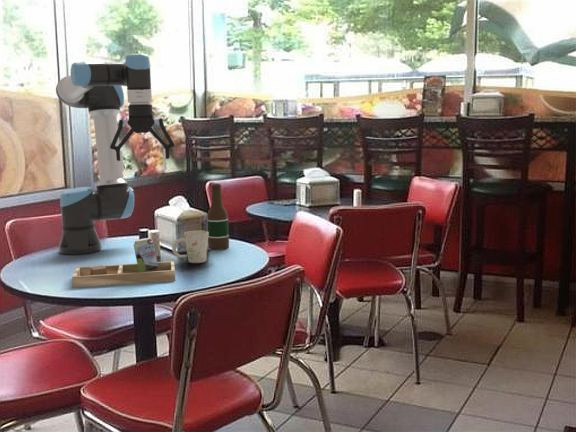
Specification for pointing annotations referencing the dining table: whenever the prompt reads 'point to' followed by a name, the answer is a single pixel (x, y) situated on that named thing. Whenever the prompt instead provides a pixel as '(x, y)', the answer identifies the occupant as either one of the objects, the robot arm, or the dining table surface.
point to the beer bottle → (217, 221)
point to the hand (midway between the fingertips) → (143, 170)
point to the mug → (194, 246)
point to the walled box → (123, 275)
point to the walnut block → (98, 270)
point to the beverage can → (145, 255)
